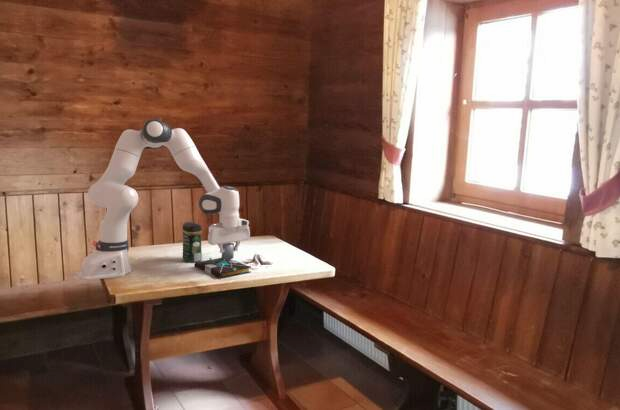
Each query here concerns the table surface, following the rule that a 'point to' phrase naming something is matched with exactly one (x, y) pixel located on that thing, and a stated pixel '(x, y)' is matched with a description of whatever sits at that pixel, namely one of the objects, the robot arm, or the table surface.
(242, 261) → the cloth
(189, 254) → the coffee jar
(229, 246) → the grey short cylinder
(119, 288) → the table surface
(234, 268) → the book
